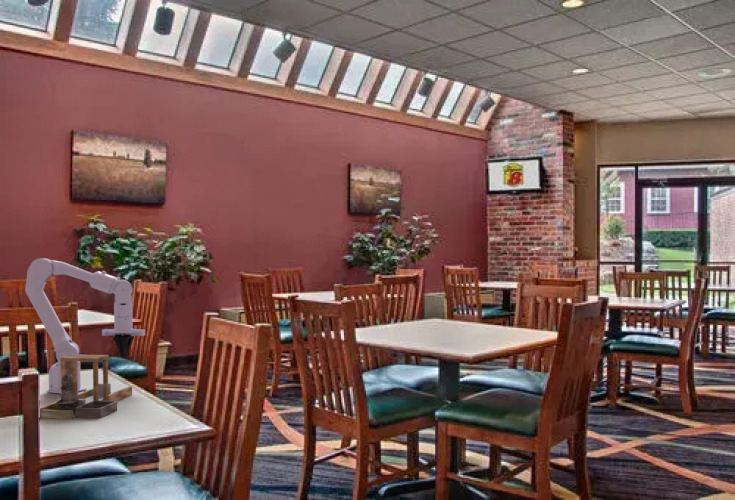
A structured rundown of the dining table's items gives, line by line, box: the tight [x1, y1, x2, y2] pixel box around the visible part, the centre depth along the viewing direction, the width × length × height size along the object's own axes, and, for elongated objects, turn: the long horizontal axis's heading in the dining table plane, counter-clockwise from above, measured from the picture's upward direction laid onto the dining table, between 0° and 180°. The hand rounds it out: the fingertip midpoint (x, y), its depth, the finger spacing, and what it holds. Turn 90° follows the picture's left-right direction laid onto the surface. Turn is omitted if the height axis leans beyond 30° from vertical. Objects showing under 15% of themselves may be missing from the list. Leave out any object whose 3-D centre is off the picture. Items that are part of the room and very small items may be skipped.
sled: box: [73, 382, 112, 410], centre depth 194 cm, size 15×6×5 cm, turn 170°
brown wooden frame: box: [39, 354, 133, 420], centre depth 192 cm, size 30×18×15 cm, turn 170°
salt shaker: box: [55, 371, 79, 416], centre depth 184 cm, size 6×6×12 cm
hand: (123, 357), depth 219 cm, fingers closed
